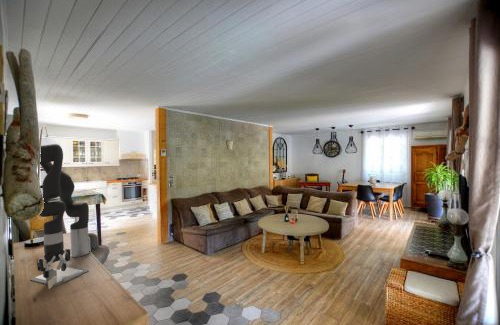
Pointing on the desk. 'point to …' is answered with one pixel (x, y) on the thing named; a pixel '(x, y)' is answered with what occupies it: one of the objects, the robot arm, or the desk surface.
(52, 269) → the lighter
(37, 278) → the clipboard
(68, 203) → the robot arm
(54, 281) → the cream rectangular slab
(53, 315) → the desk surface
